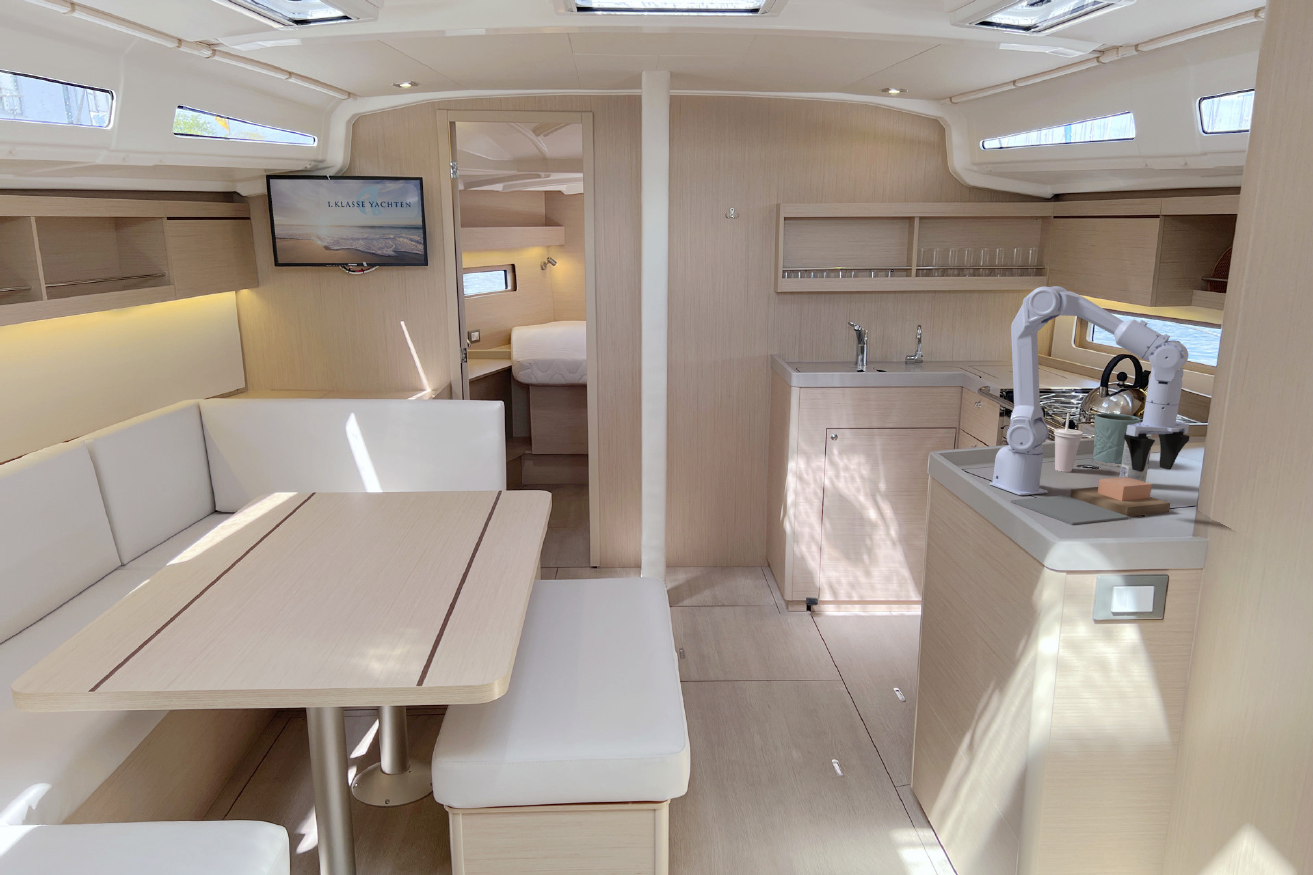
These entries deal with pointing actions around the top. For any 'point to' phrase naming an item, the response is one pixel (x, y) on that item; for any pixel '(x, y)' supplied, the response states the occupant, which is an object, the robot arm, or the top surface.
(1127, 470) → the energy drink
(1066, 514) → the mat
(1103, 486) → the block
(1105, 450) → the green plant pot
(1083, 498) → the brown wooden board
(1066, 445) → the smoothie
